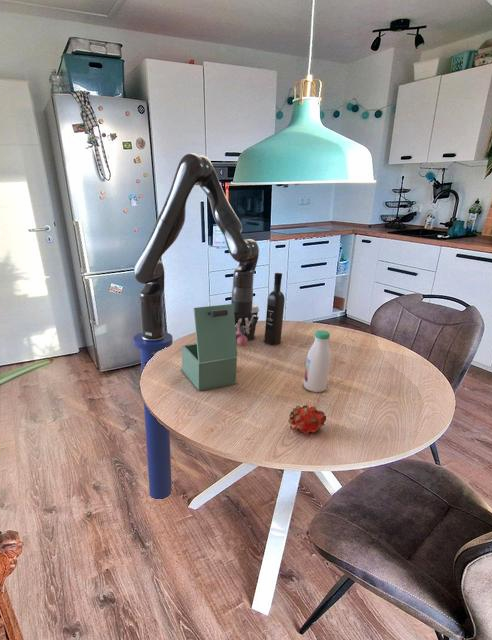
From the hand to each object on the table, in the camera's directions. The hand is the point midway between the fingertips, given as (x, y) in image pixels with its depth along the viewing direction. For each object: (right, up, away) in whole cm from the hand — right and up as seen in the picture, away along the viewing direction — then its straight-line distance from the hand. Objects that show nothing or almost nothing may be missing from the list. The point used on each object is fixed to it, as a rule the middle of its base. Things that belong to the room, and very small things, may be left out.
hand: (239, 343), depth 144 cm
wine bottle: (+15, +1, +25) cm, 30 cm away
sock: (0, 0, 0) cm, 0 cm away
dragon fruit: (+17, -26, -35) cm, 47 cm away
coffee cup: (+4, +4, +30) cm, 30 cm away
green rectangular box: (-11, -12, -7) cm, 18 cm away
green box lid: (-8, +2, -19) cm, 21 cm away
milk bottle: (+25, -16, -11) cm, 32 cm away
